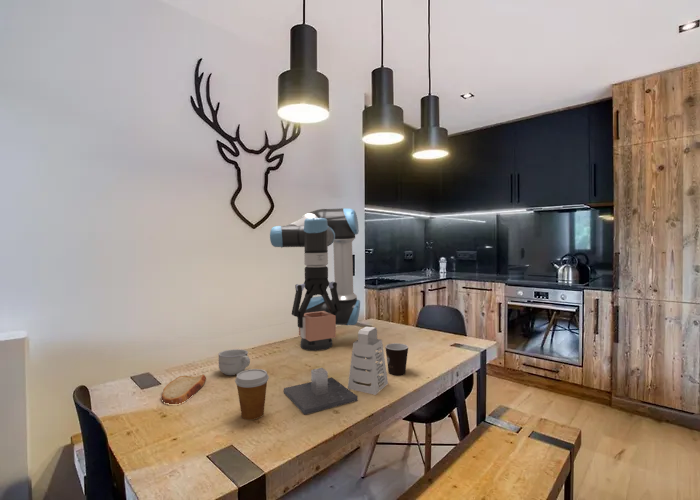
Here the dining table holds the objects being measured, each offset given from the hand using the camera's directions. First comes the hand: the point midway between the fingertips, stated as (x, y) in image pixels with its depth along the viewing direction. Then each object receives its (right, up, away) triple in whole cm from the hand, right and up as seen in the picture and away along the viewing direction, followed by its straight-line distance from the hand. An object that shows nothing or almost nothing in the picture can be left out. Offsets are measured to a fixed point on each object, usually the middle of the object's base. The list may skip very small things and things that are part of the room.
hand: (317, 335), depth 119 cm
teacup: (-33, -20, +21) cm, 44 cm away
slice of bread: (-45, -21, +6) cm, 50 cm away
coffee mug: (+29, -19, +22) cm, 41 cm away
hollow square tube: (0, 0, 0) cm, 0 cm away
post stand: (+1, -20, 0) cm, 20 cm away
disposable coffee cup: (-18, -21, -11) cm, 30 cm away
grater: (+17, -20, +8) cm, 27 cm away
